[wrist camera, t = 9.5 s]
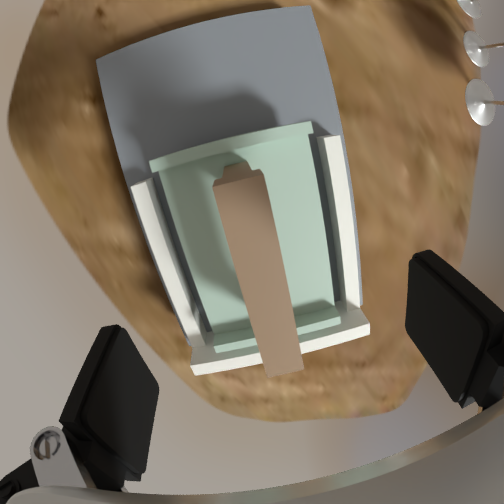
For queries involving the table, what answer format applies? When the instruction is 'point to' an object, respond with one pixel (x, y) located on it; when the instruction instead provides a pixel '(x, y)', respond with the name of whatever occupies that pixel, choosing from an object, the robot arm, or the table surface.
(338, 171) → the dock
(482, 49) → the goblet set
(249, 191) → the mint green tray
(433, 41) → the table surface
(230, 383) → the table surface
